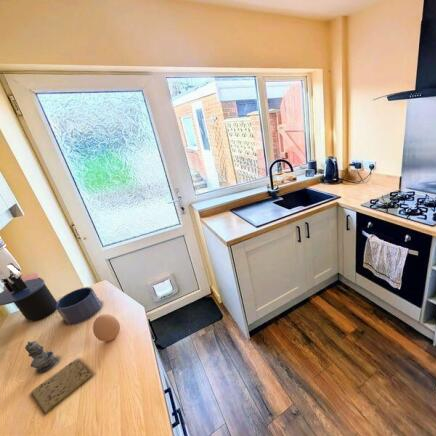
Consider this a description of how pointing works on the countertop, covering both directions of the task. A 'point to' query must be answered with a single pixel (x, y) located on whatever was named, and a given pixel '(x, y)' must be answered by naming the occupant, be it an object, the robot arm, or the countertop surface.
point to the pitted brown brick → (60, 385)
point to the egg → (106, 327)
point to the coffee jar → (36, 301)
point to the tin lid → (31, 288)
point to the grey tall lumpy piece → (40, 357)
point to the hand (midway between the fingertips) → (18, 289)
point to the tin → (78, 305)
